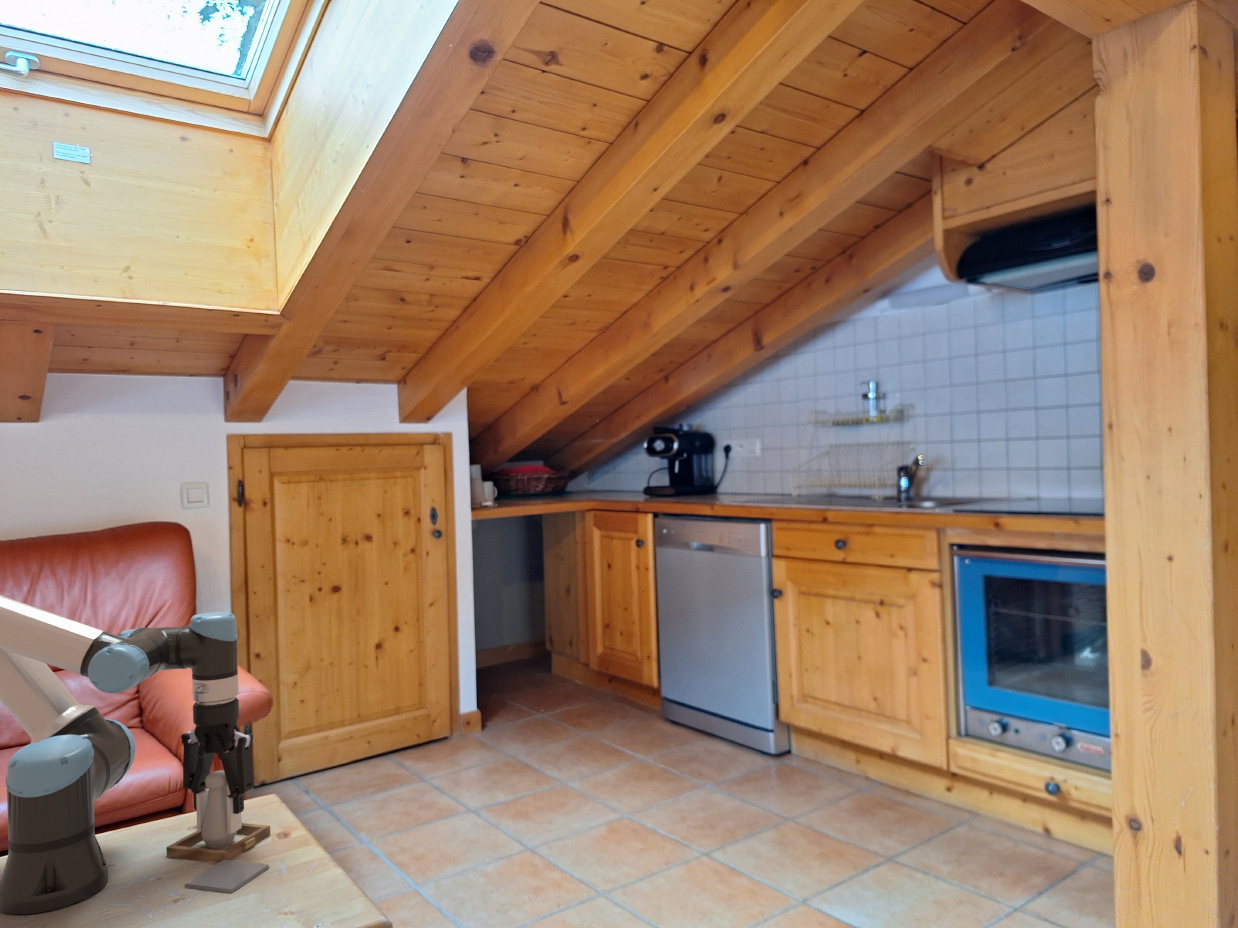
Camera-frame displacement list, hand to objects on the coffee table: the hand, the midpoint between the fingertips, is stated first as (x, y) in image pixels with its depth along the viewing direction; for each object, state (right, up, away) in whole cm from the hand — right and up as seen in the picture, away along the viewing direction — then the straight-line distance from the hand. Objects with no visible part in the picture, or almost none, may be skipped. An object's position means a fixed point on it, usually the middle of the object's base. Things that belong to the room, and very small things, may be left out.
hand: (219, 828), depth 158 cm
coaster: (+7, -3, -13) cm, 15 cm away
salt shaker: (0, -3, 0) cm, 3 cm away
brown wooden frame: (0, -3, 0) cm, 3 cm away
